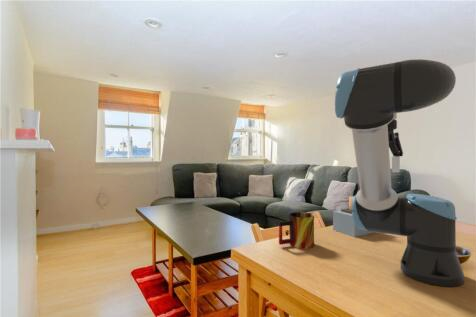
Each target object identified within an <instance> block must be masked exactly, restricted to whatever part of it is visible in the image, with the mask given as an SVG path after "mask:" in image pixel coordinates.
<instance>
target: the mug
mask: <svg viewBox="0 0 476 317" xmlns="http://www.w3.org/2000/svg"><path fill="white" fill-rule="evenodd" d="M288 217H289V218H288V220H284V221H279V222H278V244H279V245H287V244H289V246H291V247H292V246H293V248H295V247H296V248H295V249H300V250H301V249H303V250H307V249H313V248H314V247H315V214H313V213H310V212H304V211H303V212H302V211H301V212H300V211H297V212H290V213H289V215H288ZM285 226H287V227H288V226H289V228H288V229H289V238H285V239H283V227H285Z"/></svg>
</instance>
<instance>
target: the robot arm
mask: <svg viewBox="0 0 476 317" xmlns="http://www.w3.org/2000/svg"><path fill="white" fill-rule="evenodd" d="M456 80H457V79H456V74H455V72H454V69H452V68H451V67H450V66H449V65H448V64H446V63H443V62H440V61H436V60H429V59H405V60H401V61H395V62H389V63H386V64H385V63H384V64H379V65H374V66H369V67H363V68H360V67H359V68H357V69H353V70H350V71H345V72H343V73H341V74H340V75H339V77H338V79H337V81H336V82H337V83H336V86H335V87H336V88H335V92H334V93H335V94H334V95H335V96H334V113H335V115H336V116H335V117H336V118H338V119H344V125H345V127H347V128H348V129H350V130H351V132H352V133H351V134H352V140H353V147H354V155H355V162H356V170H357V176H358V177H357V178H358V186H359V190H358V191H357V193H356V194H355V195H354V196H353V200H352V216H353V220H354V223H355V225H356V226H357V227H358V228H359V229H361V230H366V231H369V232H375V233H379V234H387V235H395V236H402V237H406V248H405V249H404V251H403V254H402V256H401V260H400V270H401V272H402V273H403V274H404V275H405V276H408V277H409V278H411V279H414V280H416V281H419V282H421V283H426V284H428V285H429V284H430V285H433V286H434V285H435V286H440V287H459V286H461V285H463V284H464V283H465V273H464V270H463V268H462V265H461V262H460V260H459V257H458V255H457V249H456V248H457V247H456V246H457V244H456V242H457V239H456V238H457V236H456V234H457V233H456V230H457V229H456V220H457V216H456V206H455V204H454V203H453V202H452V201H451V200H448V199H446V198H441V197H439V196H434V195H429V194H428V195H427V194H421V193H407V194H406V196H405V197H399V196H398V194H397V192H396V191H395V190H394V189H393V188H392V178H391V177H392V176H391V172H392V173H400V172H401V170H400V169H401V168H400V167H401V165H400V159H401V158H400V157H403V156H404V151H403V149H402V144H401V141H400V137H399V136H400V134H399V132H398V131H397V132H394V131H395V130H397V128H398V121H397V118H398V117H397V115H398V113H406V112H412V111H417V110H421V109H425V108H427V107H431V106H433V105H435V104H439V103H440V102H441V101H444V99H446V98H448V96H449V95H450V94H451V93H452V92H453V90H454V88H455V86H456ZM390 152H391V154H392V156H391V159H390Z"/></svg>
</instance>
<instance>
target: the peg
mask: <svg viewBox="0 0 476 317" xmlns="http://www.w3.org/2000/svg"><path fill="white" fill-rule="evenodd" d="M353 197H354V196H349V197H348V204H349V205H348V208H349V210H350V211H352V200H353Z"/></svg>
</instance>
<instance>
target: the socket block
mask: <svg viewBox="0 0 476 317" xmlns="http://www.w3.org/2000/svg"><path fill="white" fill-rule="evenodd" d="M332 223H333V224H332V225H333V226H332V227H333V228H332V230H333V231H334V230H336V231H335V232H338V231H339V232H338V233H341V234H343V235H348V236H350V237H353V238H355V237H361V236H366V235H370V234H374V233H376V232H369V231H366V230H361V229H359V228H358V227H357V226H356V225H355V223H354V220H353V216H352V211H350V210H349V207H348V208H346V207H345V208H341V209H339V210H333V211H332Z"/></svg>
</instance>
